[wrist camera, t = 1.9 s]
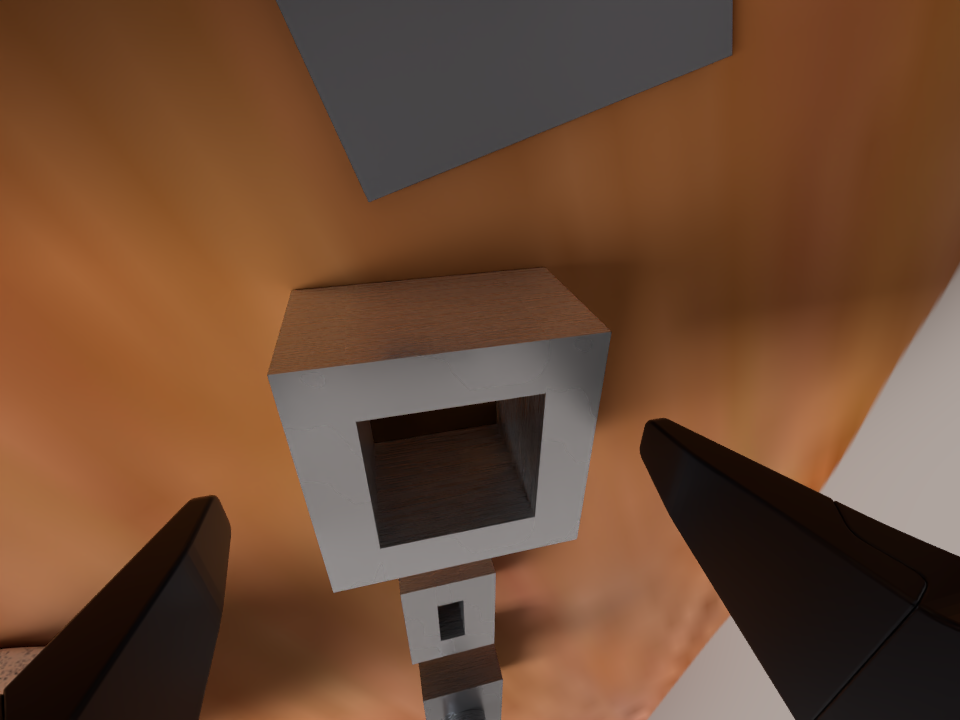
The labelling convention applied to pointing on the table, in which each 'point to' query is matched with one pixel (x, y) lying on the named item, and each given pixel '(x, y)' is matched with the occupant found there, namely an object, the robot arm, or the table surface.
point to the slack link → (449, 609)
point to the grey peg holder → (485, 70)
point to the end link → (431, 386)
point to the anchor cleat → (463, 685)
